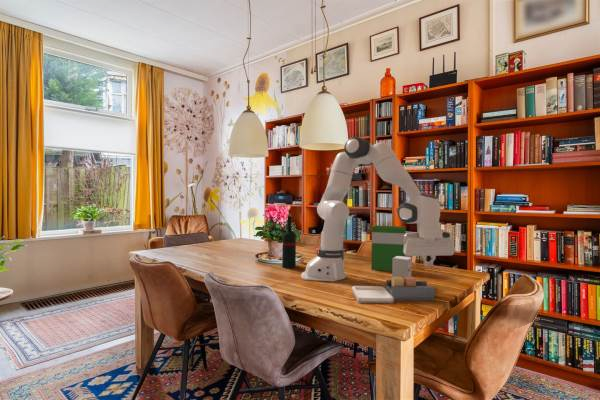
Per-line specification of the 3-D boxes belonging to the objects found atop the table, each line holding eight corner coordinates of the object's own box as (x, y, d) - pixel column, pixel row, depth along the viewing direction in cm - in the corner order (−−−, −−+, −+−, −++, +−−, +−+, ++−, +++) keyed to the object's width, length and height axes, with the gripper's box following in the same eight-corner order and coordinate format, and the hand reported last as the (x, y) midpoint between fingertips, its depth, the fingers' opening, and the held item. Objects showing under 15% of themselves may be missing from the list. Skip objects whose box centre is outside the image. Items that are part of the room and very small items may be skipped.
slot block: (392, 300, 135) (392, 286, 135) (385, 292, 145) (386, 280, 145) (434, 301, 135) (434, 287, 135) (425, 293, 145) (425, 280, 145)
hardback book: (404, 269, 189) (405, 226, 189) (404, 272, 182) (405, 228, 181) (372, 266, 194) (372, 225, 193) (371, 269, 187) (372, 226, 186)
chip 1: (393, 288, 138) (394, 278, 138) (391, 285, 142) (391, 276, 142) (403, 288, 138) (403, 278, 138) (400, 285, 142) (401, 276, 142)
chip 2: (406, 288, 138) (406, 278, 138) (403, 285, 142) (403, 276, 142) (415, 288, 138) (416, 279, 138) (412, 285, 142) (412, 276, 142)
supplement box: (407, 287, 154) (408, 259, 154) (391, 284, 158) (391, 257, 158) (411, 283, 160) (412, 257, 160) (396, 281, 164) (396, 255, 164)
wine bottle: (298, 265, 197) (299, 213, 196) (293, 268, 187) (294, 215, 186) (285, 264, 199) (286, 213, 198) (280, 267, 189) (280, 214, 188)
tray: (358, 302, 132) (358, 297, 132) (352, 290, 148) (352, 286, 148) (393, 303, 132) (393, 298, 132) (383, 290, 148) (383, 286, 148)
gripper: (406, 234, 136) (406, 268, 137) (456, 233, 137) (456, 267, 137) (401, 232, 143) (401, 264, 143) (449, 231, 143) (449, 264, 144)
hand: (428, 266), depth 140 cm, fingers closed
